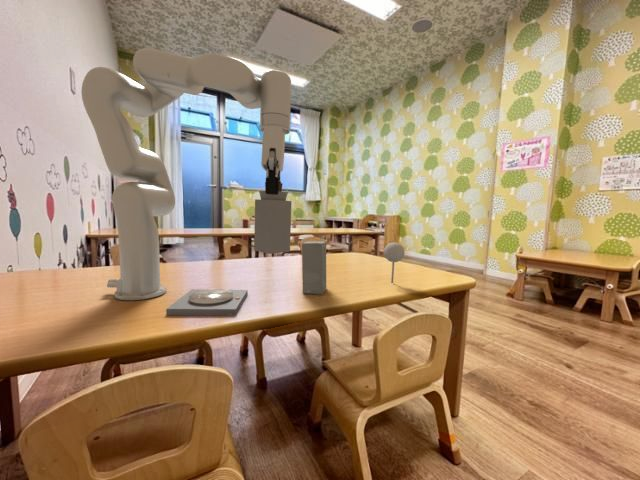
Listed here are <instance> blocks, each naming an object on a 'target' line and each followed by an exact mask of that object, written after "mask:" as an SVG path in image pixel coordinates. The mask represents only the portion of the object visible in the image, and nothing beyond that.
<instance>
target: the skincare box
mask: <svg viewBox="0 0 640 480" xmlns="http://www.w3.org/2000/svg"><path fill="white" fill-rule="evenodd" d="M301 264H302V266H301V267H302V268H301V270H302V272H301V273H302V274H301V275H302V277H301V278H302V280H301V281H302V294H313V295H320V296H321V295H323V294H324V292H325V291H326V290H327V241H309V240H307V241H305V242H301Z"/></svg>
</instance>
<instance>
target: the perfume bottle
mask: <svg viewBox="0 0 640 480" xmlns="http://www.w3.org/2000/svg"><path fill="white" fill-rule="evenodd" d="M265 185H266V181H265V182H264V186H265ZM258 193H259V196H260V199H254V237H253V238H254V239H253V240H254V241H253V245H254V246H253V247H254V248H253V250H254V251H256V252H260V253H264V254H268V255H270V254H271V255H272V254H280V253H290V252H291V231H292V230H291V226H292V225H291V222H292V201H291V200H287V196H288V194H289V192H288V191H283V183H282V182H281V183H279V193H278V195H274V194H266V193H265V190H259V191H258Z"/></svg>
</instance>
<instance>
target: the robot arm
mask: <svg viewBox="0 0 640 480" xmlns="http://www.w3.org/2000/svg"><path fill="white" fill-rule="evenodd" d="M132 62H133V63H132V64H133V67H134V70H135V72H136V74H137V75H138V77H140V79H142V80H143V81H144V82H145V84H143V85H141V84H140V83H138V82H137V81H135V80H133V79H132V78H130V77H128V76H126V75H125V74H123V73H122V72H119V71H118V70H115V69H113V68H112V69H111V68H108V67H105V66H98V67H93V68H91V69H90V70H89V71H88V72H86V75H85V76H84V78H83V80H82V84H81V90H80V91H81V99H82V100H81V101H82V103H83V104H82V105H83V107H84V109H85V111H86V114H87V116H88V119H89V120H90V123H91V124H92V127H93V129H94V132H95V135H96V138H97V142H98V144H99V147H100V150H101V153H102V155H103V159H104V161H105V164H106V166H107V170H108V171H109V172H110V173H111V174H112V175H113V176H114V177H116V178H119V179H123V180H124V179H125V180H131V181H128V182H127V181H126V182H123V183H121V184H119V185H117V186H116V188H115V189H114V191H112V195H111V202H112V207H113V210H114V213H115V214H114V215H115V217H116V222H117V223H116V224H117V235H118V251H119V253H118V254H119V271H120V272H119V274H120V279H119V278H118V279H117V278H115V279H113V278H111V279H108V281H107V284H106V287H107V288H111V289H112V288H116V290H115V292H114V298H115V299H116V300H121V301H139V300H140V301H141V300H148V299H153V298H156V297H160V296H163V295H164V294H166V292H167V287H166V286H165V285H162V284H161V268H160V267H161V266H160V265H161V264H160V260H161V259H160V239H159V236H160V235H159V228H158V225H157V222H156V221H155V218H154V217H163V216H167V215H169V214H171V213H172V212H173V211H174V209H175V206H176V197H175V192H174V189H173V186H172V183H171V181H170V177H169V175H168V170H167V167H166V166H165V164H164V162H163V160H162V159H161V157H160V156H159V155H158V154H156V153H155V152H154V151H151V150H149V149H146V148H143V147H141V146H140V145H139V144H138V141H137V139H136V137H135V134H134V130H133V128H132V126H131V124H130V123H129V121H128V119H127V117H125V115H124V113H123V112H122V111H125V112H127V113H129V114H131V115H134V116H136V117H139V118H148V117H152V116H154V115H155V114H157V113H158V112H160V111H162V110H163V109H164V108H166V107H168V106H169V105H171V104H172V103H174V102H175V101H177V100H178V99H179V98H180V97H182V96H183V95H184V94H189V95H192V96H197V95H199V94H201V93H202V92H203V91H204V88H205V87H206V88H210V89H216V90H220V91H223V92H227V93H229V94H230V95H231V96H232V97H233V98H234V99H235V100H236V101H237V102H238V103H239V104H240V105H241V106H243V108H245V109H249V110H255V109H260V111H259V112H260V113H259V114H260V116H259V117H260V118H259V130H260V132H262V143H261V145H262V146H261V162H260V163H261V164H260V165H261V167H262V169H263V170H264V171H265V172H266V175H265V182H266V185H265V184H264V187H265V189H264V191H265V193H266V194H274V195H278V193H279V183H282V182H281V173H283V171H284V170H283V169H284V164H285V163H284V160H285V149H286V148H285V145H286V141H285V139H286V135H289V134H290V129H291V106H292V105H291V103H292V102H291V101H292V99H291V98H292V97H291V96H292V80H291V77H290V75H289V74H287V73H286V72H285V71H283V70H278V69H268V70H266V71H265V72H263V73H262V75H261V78H260V77H258V76H256V74H255V73H254V72H253V70H252V69H251V67H250V66H249V65H247V63H245V62H244V61H242V60H240V59H238V58H234V57H231V56H227V55H224V54H223V55H222V54H218V53H212V52H210V53H209V52H207V53H202V54H199V55H196V56H194V57H191V56H188V55H183V54H178V53H174V52H168V51H165V50H161V49H156V48H149V47H144V48H141V49H138V50H137V51H136V52H135V53H134V55H133V59H132Z"/></svg>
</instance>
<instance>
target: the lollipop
mask: <svg viewBox="0 0 640 480" xmlns="http://www.w3.org/2000/svg"><path fill="white" fill-rule="evenodd" d="M383 255H384V258H385V259H386V260H387V261H389V262H391V263H392V264H391V281H390V284H391V283H393V284H394V278H395V277H394V273H395V272H394V271H395V263H398V262H400V261H402V260H403V259H404V256H405V248H404V247H403V246H402V244H401V243H398V242H396V241H395V242H390V243H388V244H387V245H385V247H384V249H383Z"/></svg>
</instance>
